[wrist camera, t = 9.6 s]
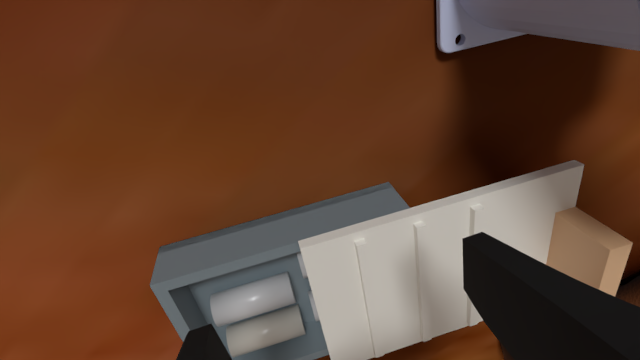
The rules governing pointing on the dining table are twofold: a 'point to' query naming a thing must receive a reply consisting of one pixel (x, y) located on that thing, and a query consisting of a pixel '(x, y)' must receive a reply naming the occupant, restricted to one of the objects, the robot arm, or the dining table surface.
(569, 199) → the lid
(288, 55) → the dining table surface
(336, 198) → the tub
